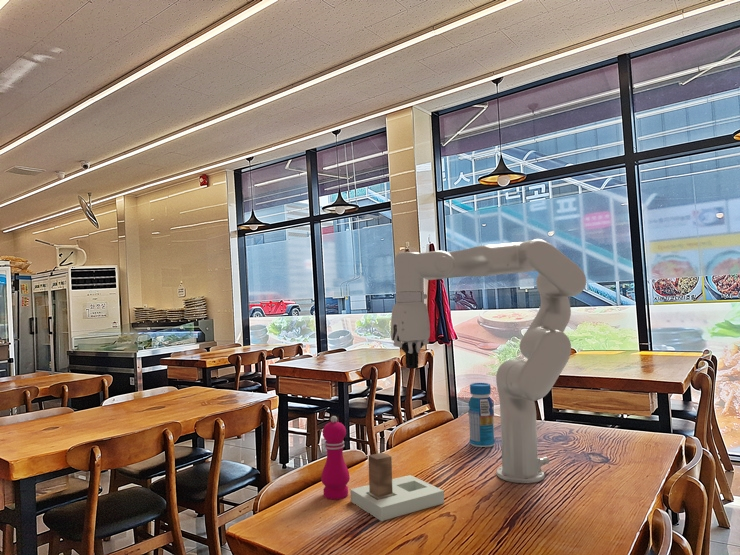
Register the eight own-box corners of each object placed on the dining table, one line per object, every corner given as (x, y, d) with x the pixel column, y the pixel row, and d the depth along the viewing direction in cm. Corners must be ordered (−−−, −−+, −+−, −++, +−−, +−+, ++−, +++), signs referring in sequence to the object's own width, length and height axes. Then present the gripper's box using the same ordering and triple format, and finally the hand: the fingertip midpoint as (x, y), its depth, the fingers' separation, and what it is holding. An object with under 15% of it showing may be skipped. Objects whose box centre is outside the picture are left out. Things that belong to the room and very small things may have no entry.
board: (410, 486, 142) (410, 474, 142) (444, 503, 130) (443, 490, 130) (350, 501, 132) (350, 489, 132) (381, 521, 120) (380, 507, 120)
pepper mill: (346, 501, 133) (344, 419, 133) (318, 499, 134) (316, 419, 135) (353, 490, 140) (350, 413, 140) (326, 489, 141) (324, 412, 142)
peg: (383, 501, 131) (382, 452, 132) (393, 507, 128) (391, 456, 128) (369, 505, 129) (368, 455, 130) (378, 511, 126) (377, 459, 126)
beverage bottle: (465, 446, 177) (463, 385, 178) (474, 440, 184) (472, 381, 185) (490, 449, 173) (488, 386, 174) (498, 443, 180) (496, 383, 181)
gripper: (424, 298, 150) (426, 364, 149) (378, 299, 142) (380, 369, 142) (441, 297, 144) (443, 366, 143) (394, 299, 136) (396, 372, 135)
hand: (412, 367), depth 142 cm, fingers closed
